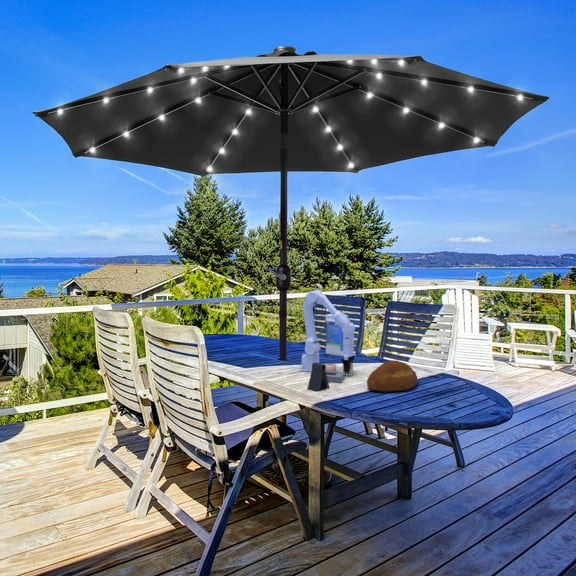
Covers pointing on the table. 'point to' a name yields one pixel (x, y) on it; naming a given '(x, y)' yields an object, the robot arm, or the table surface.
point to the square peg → (349, 369)
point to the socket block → (335, 376)
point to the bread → (392, 377)
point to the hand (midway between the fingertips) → (348, 370)
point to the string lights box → (334, 336)
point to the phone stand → (318, 377)
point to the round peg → (330, 367)
